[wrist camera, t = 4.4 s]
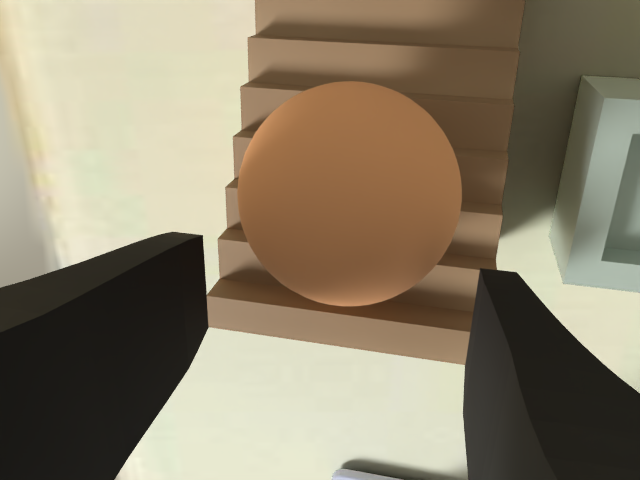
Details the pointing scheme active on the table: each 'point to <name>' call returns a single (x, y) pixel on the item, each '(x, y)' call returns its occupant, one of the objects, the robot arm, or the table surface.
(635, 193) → the hollow square container
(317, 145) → the ball
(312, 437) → the table surface
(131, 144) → the table surface
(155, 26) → the table surface
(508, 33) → the staircase
